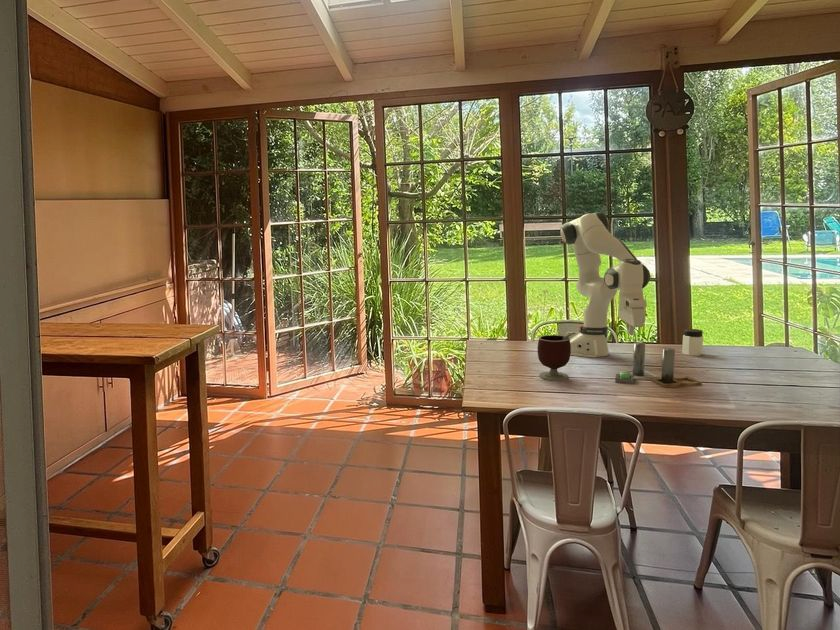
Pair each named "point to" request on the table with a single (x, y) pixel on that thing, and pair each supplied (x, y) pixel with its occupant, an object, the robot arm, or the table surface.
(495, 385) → the table surface
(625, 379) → the switch box
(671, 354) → the cylinder
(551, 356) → the mate gourd
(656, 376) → the square tray
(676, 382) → the tray
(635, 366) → the cylinder
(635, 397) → the table surface
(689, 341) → the jar
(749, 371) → the table surface
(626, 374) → the button
